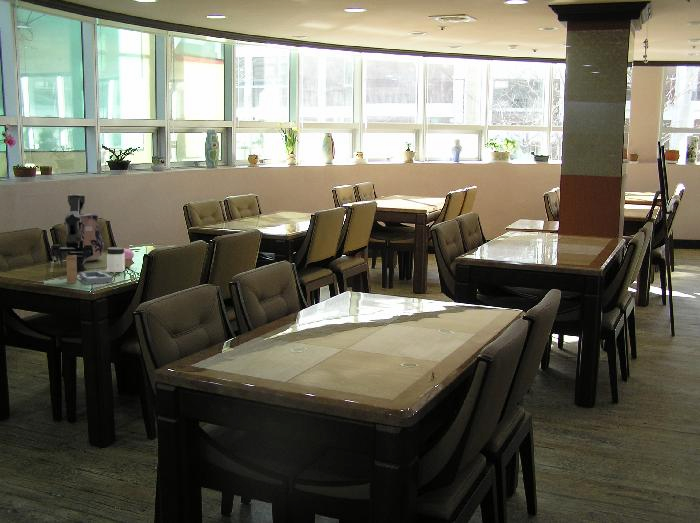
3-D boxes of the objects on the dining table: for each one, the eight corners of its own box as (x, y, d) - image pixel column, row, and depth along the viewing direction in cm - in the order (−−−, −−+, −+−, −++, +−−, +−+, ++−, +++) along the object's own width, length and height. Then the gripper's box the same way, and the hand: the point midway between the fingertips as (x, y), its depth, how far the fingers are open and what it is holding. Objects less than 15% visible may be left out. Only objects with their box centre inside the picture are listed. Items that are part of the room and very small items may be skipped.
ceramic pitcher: (97, 263, 421) (97, 216, 417) (58, 261, 421) (57, 215, 417) (108, 258, 438) (107, 213, 434) (70, 256, 438) (69, 212, 434)
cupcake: (135, 266, 415) (135, 247, 413) (131, 269, 406) (131, 250, 405) (118, 266, 415) (118, 247, 413) (114, 268, 406) (113, 249, 404)
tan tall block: (68, 281, 370) (67, 255, 368) (77, 281, 371) (76, 254, 369) (67, 283, 364) (66, 257, 362) (76, 283, 365) (75, 256, 363)
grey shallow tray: (75, 277, 379) (75, 272, 379) (102, 275, 386) (102, 270, 386) (86, 284, 364) (86, 278, 364) (114, 282, 372) (113, 276, 371)
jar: (109, 273, 393) (109, 249, 391) (104, 270, 399) (104, 247, 398) (127, 272, 398) (127, 248, 396) (122, 269, 404) (122, 246, 402)
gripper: (50, 227, 367) (48, 254, 358) (92, 227, 372) (91, 254, 363) (52, 242, 376) (51, 268, 367) (93, 242, 381) (93, 268, 372)
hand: (71, 264), depth 367 cm, fingers open, 9 cm apart
